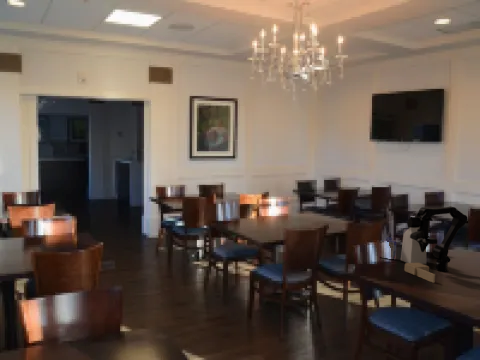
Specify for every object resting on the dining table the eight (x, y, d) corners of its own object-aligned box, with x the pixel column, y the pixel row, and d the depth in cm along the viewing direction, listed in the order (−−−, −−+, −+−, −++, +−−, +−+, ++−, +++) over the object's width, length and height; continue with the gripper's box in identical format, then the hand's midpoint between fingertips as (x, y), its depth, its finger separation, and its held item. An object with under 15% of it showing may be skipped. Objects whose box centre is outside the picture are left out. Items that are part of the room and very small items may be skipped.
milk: (410, 264, 307) (412, 225, 305) (400, 260, 318) (402, 222, 316) (426, 263, 310) (428, 225, 308) (415, 259, 321) (418, 222, 319)
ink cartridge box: (395, 258, 321) (397, 238, 320) (393, 260, 317) (394, 239, 316) (381, 256, 327) (382, 236, 326) (379, 257, 322) (380, 237, 321)
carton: (417, 270, 292) (418, 262, 292) (428, 274, 283) (429, 266, 283) (404, 271, 289) (404, 263, 289) (414, 275, 280) (415, 267, 279)
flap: (434, 282, 266) (435, 274, 266) (433, 282, 266) (433, 274, 266) (417, 275, 280) (418, 267, 280) (416, 275, 280) (416, 267, 279)
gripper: (403, 225, 296) (402, 249, 297) (423, 230, 279) (422, 256, 280) (418, 224, 300) (416, 248, 301) (438, 230, 282) (437, 255, 283)
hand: (422, 252), depth 291 cm, fingers closed
